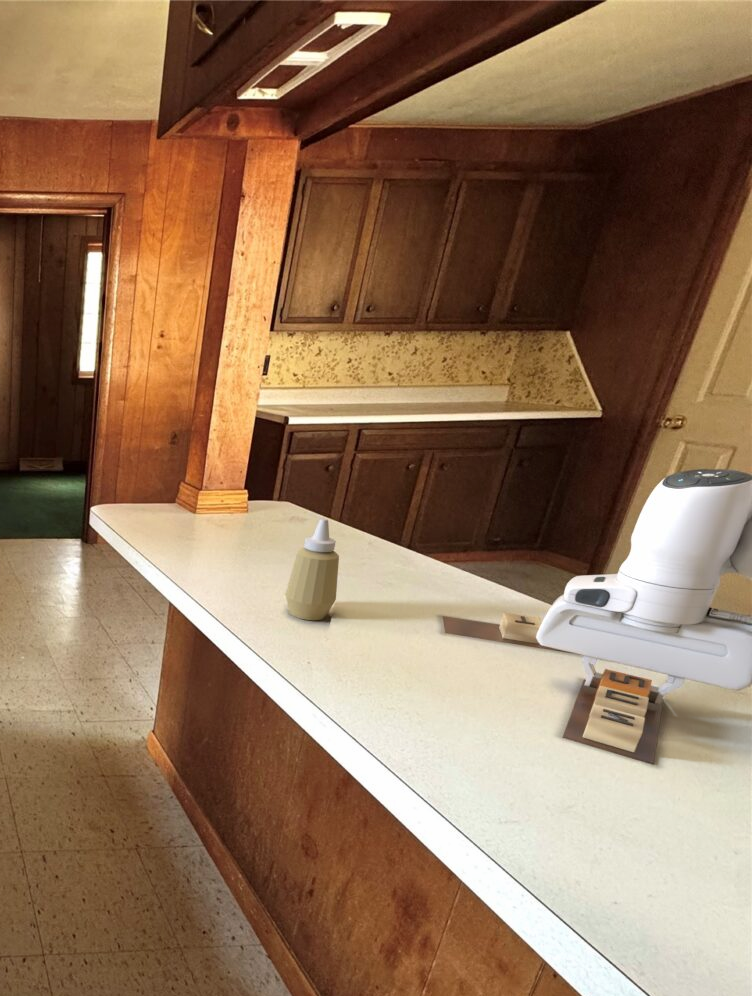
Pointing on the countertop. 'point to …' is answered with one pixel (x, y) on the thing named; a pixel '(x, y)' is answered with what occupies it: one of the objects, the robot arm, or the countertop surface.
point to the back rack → (500, 630)
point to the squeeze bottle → (314, 576)
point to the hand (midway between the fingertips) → (620, 693)
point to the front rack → (615, 722)
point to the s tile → (625, 683)
